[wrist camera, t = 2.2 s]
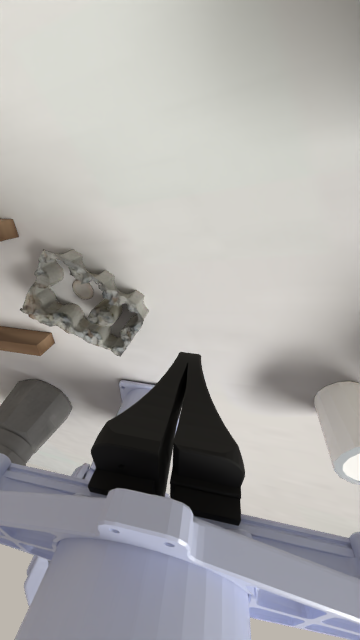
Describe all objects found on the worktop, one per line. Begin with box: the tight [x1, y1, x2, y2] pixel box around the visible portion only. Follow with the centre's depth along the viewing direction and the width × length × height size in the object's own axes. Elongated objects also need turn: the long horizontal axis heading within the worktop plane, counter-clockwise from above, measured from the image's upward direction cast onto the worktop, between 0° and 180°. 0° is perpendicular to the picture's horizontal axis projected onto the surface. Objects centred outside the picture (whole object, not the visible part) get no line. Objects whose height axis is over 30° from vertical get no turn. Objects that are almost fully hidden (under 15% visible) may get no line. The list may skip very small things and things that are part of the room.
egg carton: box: [20, 249, 149, 356], centre depth 21 cm, size 11×8×4 cm
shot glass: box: [314, 381, 360, 485], centre depth 21 cm, size 7×7×7 cm
